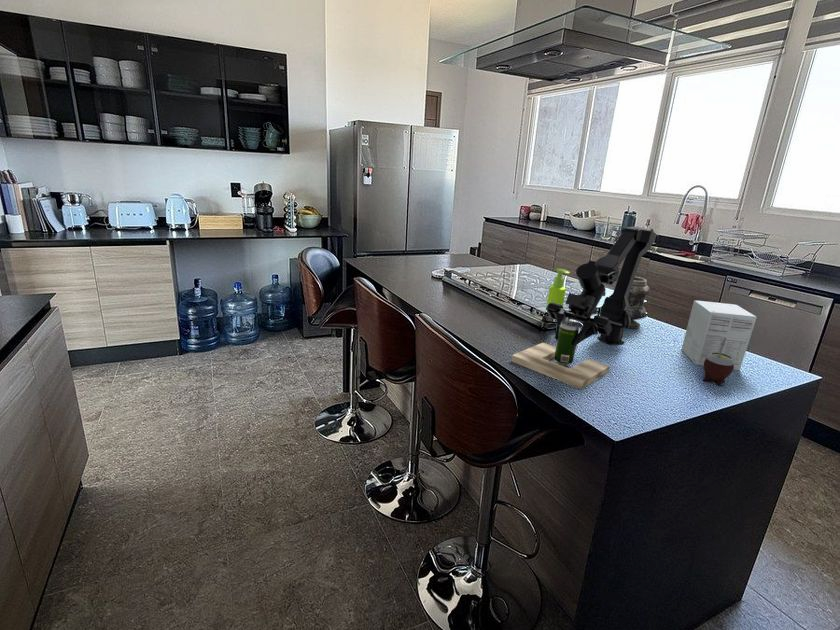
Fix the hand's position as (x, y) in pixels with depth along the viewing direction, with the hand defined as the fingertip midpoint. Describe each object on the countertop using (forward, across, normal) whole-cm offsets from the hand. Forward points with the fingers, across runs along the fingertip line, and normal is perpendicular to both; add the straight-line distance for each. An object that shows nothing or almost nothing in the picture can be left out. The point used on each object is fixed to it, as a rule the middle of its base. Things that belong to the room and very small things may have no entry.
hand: (564, 342), depth 132 cm
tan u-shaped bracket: (+6, 0, +5) cm, 8 cm away
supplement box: (-26, +27, +38) cm, 54 cm away
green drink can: (+4, 0, +6) cm, 7 cm away
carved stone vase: (-34, -4, +47) cm, 58 cm away
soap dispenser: (-20, -23, +32) cm, 44 cm away
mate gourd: (-14, +33, +25) cm, 44 cm away
